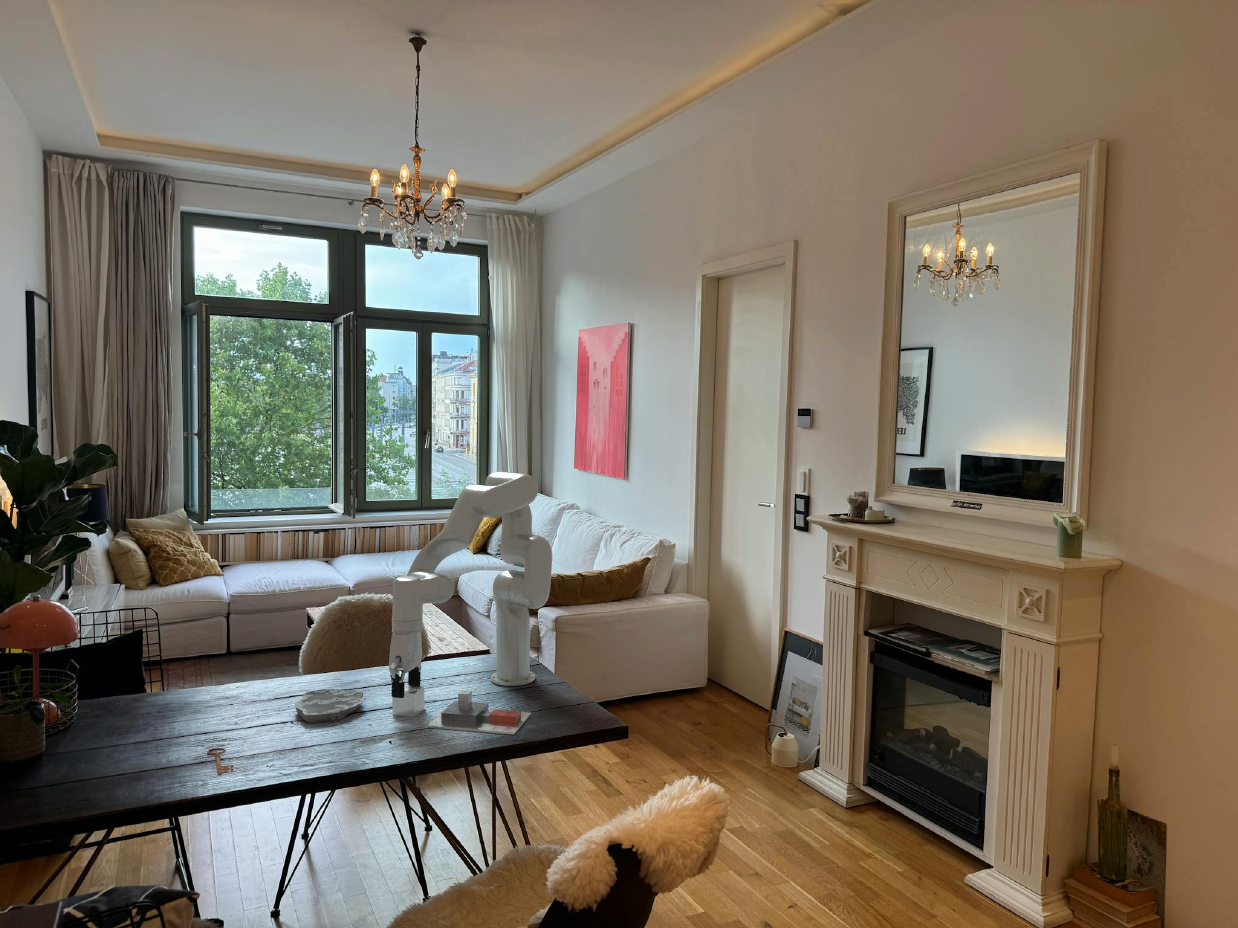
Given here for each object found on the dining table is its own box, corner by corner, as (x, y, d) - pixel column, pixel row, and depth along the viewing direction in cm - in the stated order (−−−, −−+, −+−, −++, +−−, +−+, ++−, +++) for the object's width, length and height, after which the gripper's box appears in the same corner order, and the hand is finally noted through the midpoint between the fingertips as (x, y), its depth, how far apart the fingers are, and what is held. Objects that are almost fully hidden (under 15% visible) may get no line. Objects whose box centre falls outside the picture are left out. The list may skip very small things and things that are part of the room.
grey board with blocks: (449, 707, 226) (449, 681, 226) (530, 714, 222) (530, 687, 222) (427, 727, 212) (427, 699, 212) (514, 734, 208) (514, 706, 208)
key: (239, 774, 186) (234, 749, 200) (239, 770, 186) (234, 745, 200) (209, 777, 184) (206, 751, 197) (209, 773, 184) (206, 747, 197)
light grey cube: (402, 707, 226) (402, 684, 226) (424, 708, 225) (424, 686, 225) (392, 715, 220) (392, 692, 220) (414, 717, 219) (414, 693, 219)
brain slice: (368, 720, 218) (368, 708, 217) (296, 729, 211) (296, 717, 211) (361, 695, 236) (361, 684, 236) (294, 703, 230) (294, 692, 229)
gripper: (407, 616, 230) (406, 680, 231) (378, 631, 213) (377, 700, 214) (434, 618, 229) (433, 683, 230) (406, 634, 212) (405, 703, 213)
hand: (406, 691), depth 222 cm, fingers open, 9 cm apart
